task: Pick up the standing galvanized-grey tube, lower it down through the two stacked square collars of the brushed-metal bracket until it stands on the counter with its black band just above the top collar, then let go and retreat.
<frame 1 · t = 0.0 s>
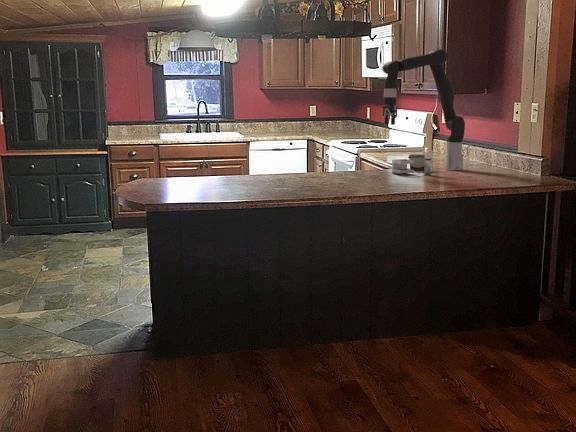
hand: (389, 124, 385), 29 cm above the countertop, fingers open, 8 cm apart
food container: (417, 171, 401), on the countertop
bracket: (403, 174, 383), on the countertop
tube: (427, 175, 380), on the countertop
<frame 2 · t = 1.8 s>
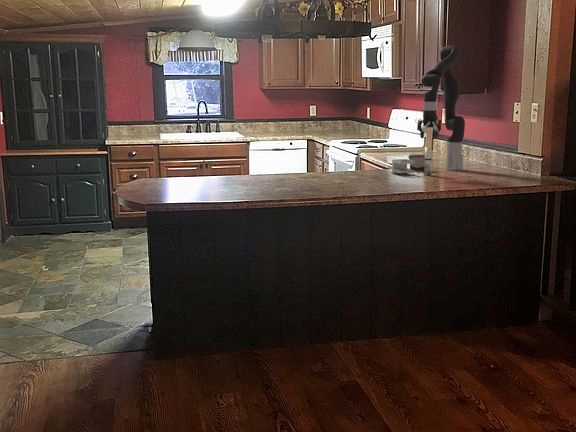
hand: (428, 138, 376), 22 cm above the countertop, fingers open, 8 cm apart
nothing on the countertop moved.
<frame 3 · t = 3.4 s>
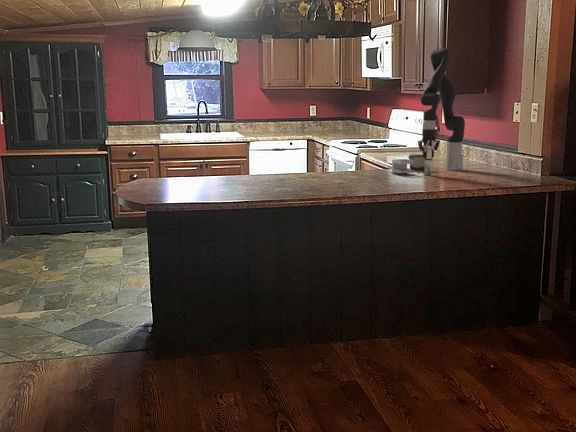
hand: (428, 157, 378), 10 cm above the countertop, fingers closed on tube, 4 cm apart
tube: (427, 175, 380), on the countertop, touching gripper
everything else where it was.
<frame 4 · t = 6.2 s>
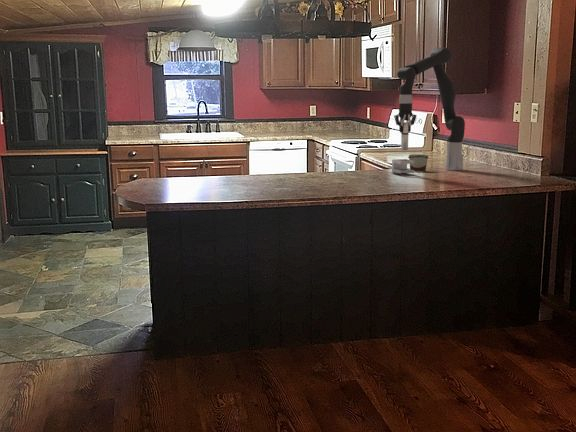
hand: (404, 132, 378), 25 cm above the countertop, fingers closed on tube, 4 cm apart
tube: (404, 149, 380), point 15 cm above the countertop, touching gripper
everything else where it was.
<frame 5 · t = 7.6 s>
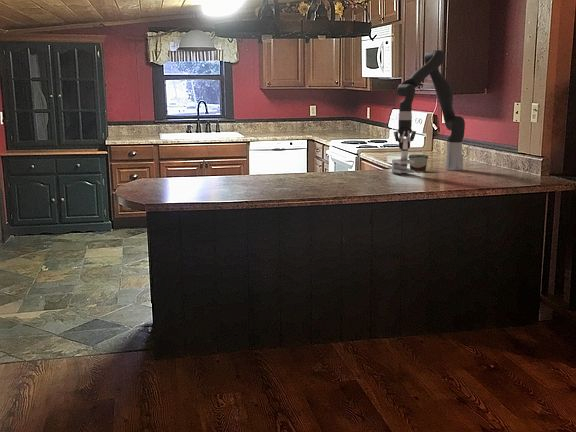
hand: (404, 148, 380), 16 cm above the countertop, fingers closed on tube, 4 cm apart
tube: (403, 165, 382), point 5 cm above the countertop, touching gripper
everything else where it was.
when the fingers open (11 cm above the countertop, at t = 8.8 s): tube stays where it is, on the countertop.
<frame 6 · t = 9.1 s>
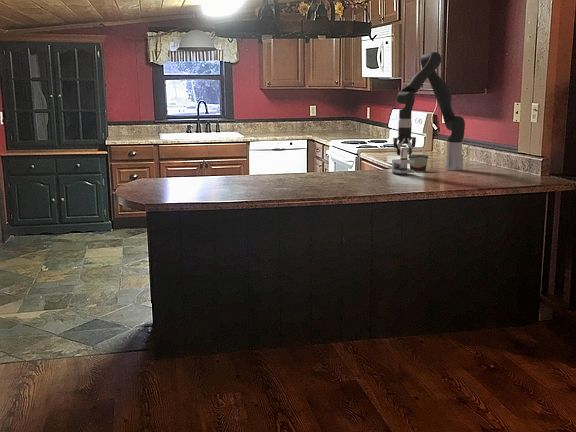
hand: (404, 155, 381), 12 cm above the countertop, fingers open, 6 cm apart
tube: (403, 174, 383), on the countertop
everything else where it was.
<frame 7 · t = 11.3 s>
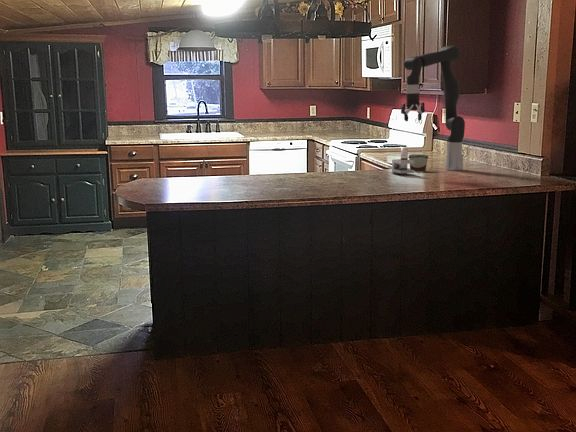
hand: (412, 120, 380), 31 cm above the countertop, fingers open, 8 cm apart
nothing on the countertop moved.
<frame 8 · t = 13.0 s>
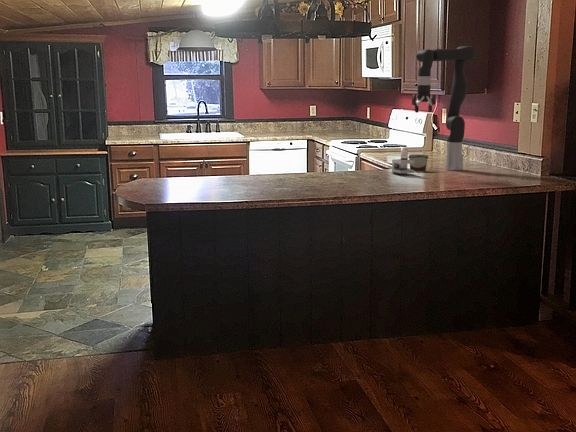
hand: (423, 112, 384), 36 cm above the countertop, fingers open, 8 cm apart
nothing on the countertop moved.
at the end: tube 0.1 cm off-centre on the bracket, point 0.0 cm above the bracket's base; tube tilted 0°; the gripper is holding nothing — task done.
